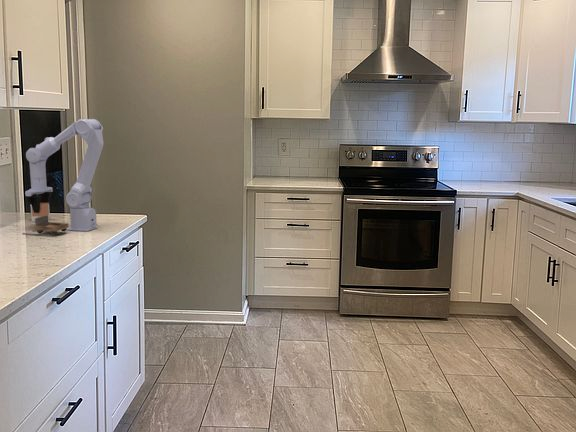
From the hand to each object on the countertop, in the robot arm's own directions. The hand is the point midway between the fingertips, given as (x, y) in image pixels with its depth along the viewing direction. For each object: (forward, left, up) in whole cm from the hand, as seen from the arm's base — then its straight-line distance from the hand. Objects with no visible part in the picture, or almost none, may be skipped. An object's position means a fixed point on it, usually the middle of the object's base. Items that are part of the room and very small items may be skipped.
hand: (40, 211), depth 231 cm
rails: (-8, +11, -6) cm, 15 cm away
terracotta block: (0, 0, -2) cm, 2 cm away
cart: (-12, +11, -6) cm, 18 cm away
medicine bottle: (+11, -15, -7) cm, 20 cm away
